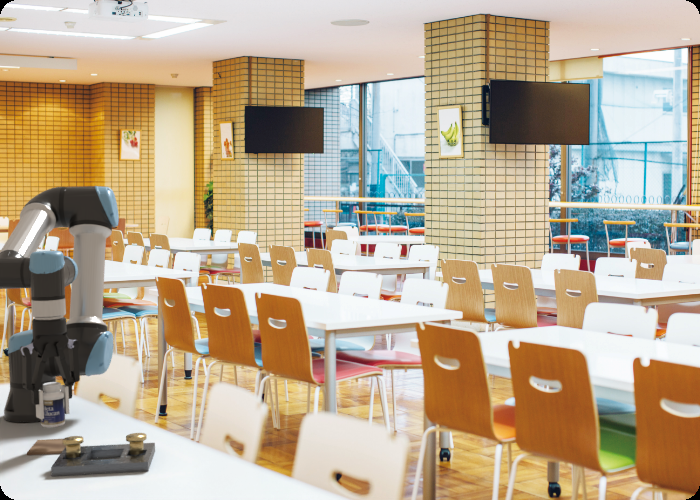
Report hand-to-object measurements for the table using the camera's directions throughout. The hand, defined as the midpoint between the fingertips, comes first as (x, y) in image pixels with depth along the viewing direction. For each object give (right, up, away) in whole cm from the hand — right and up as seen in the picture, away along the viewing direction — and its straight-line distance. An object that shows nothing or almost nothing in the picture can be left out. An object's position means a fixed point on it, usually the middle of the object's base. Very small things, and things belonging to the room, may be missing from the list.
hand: (52, 415), depth 196 cm
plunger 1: (+9, -7, -12) cm, 17 cm away
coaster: (0, -8, +1) cm, 8 cm away
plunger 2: (+22, -6, -11) cm, 26 cm away
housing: (+16, -8, -11) cm, 21 cm away
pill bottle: (0, -3, 0) cm, 2 cm away
